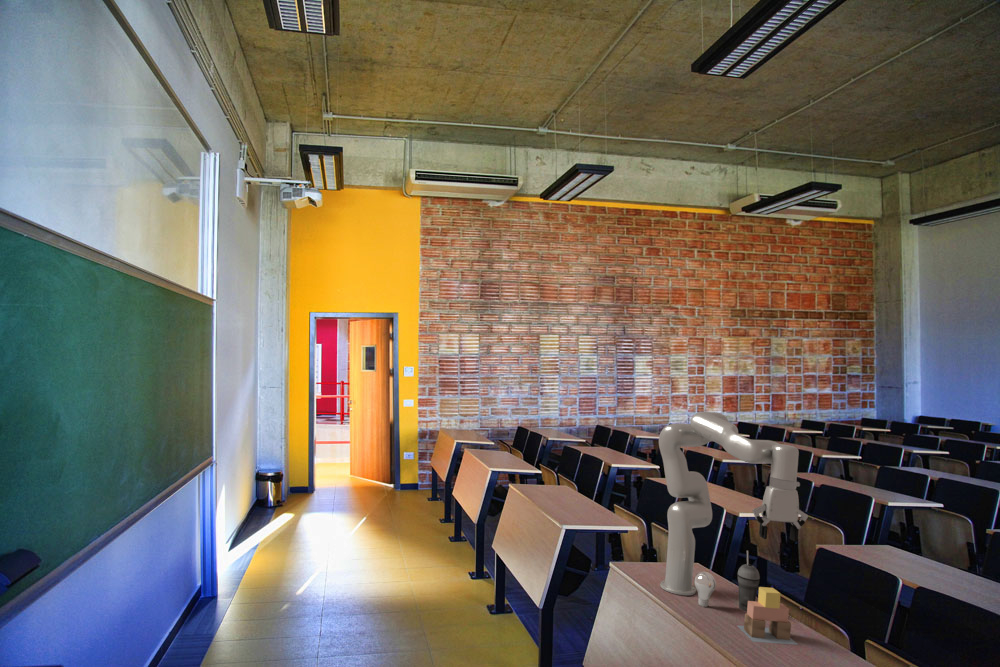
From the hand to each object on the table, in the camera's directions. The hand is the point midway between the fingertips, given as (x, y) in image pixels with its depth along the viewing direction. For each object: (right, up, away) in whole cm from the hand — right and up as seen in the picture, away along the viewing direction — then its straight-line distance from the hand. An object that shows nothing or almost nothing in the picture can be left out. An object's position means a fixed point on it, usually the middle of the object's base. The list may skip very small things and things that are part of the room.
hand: (778, 539), depth 190 cm
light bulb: (-18, -29, +16) cm, 38 cm away
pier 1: (-9, -28, -4) cm, 30 cm away
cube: (-4, -19, -3) cm, 20 cm away
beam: (-5, -23, -3) cm, 24 cm away
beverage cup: (-3, -30, +16) cm, 35 cm away
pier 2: (-1, -29, -3) cm, 29 cm away
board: (-5, -29, -4) cm, 30 cm away
